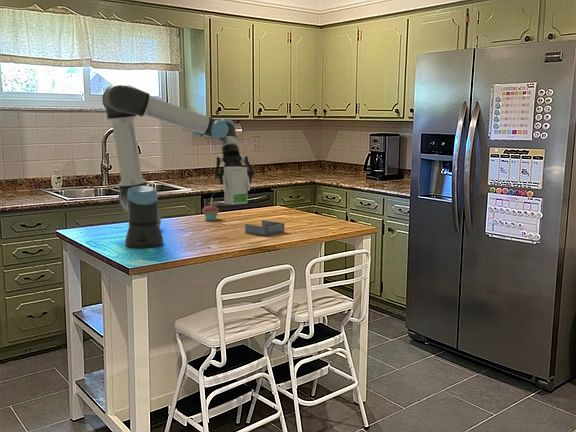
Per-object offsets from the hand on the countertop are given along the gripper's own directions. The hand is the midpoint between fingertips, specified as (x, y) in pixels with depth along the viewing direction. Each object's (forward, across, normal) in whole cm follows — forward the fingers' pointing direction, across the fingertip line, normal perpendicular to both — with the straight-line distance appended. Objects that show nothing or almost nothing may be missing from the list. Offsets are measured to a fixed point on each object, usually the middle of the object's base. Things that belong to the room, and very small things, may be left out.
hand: (237, 189), depth 240 cm
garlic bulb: (-7, +35, -38) cm, 52 cm away
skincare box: (+3, 0, -7) cm, 7 cm away
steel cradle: (+7, -14, -24) cm, 29 cm away
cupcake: (-19, +5, -50) cm, 54 cm away
